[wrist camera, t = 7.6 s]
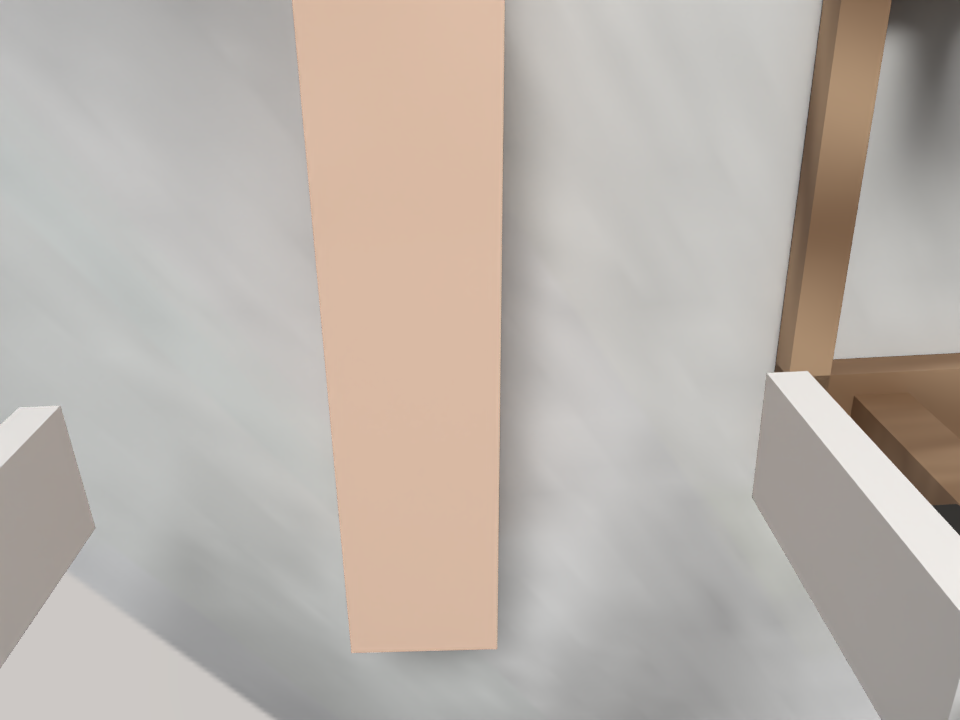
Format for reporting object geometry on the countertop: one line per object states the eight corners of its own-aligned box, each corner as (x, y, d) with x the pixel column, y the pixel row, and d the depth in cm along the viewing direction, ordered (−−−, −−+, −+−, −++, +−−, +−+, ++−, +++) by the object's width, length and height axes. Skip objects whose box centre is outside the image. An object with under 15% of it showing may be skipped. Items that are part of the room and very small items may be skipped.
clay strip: (322, -82, 19) (282, -100, 14) (492, -82, 19) (506, -100, 15) (367, 538, 27) (351, 652, 22) (489, 536, 27) (497, 649, 22)
